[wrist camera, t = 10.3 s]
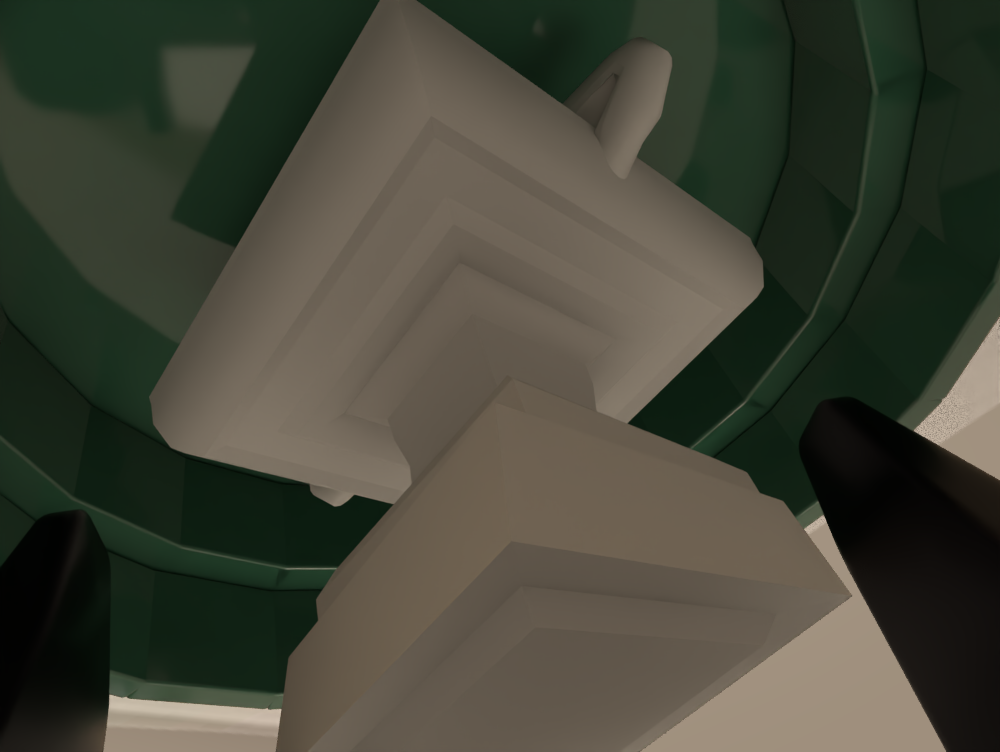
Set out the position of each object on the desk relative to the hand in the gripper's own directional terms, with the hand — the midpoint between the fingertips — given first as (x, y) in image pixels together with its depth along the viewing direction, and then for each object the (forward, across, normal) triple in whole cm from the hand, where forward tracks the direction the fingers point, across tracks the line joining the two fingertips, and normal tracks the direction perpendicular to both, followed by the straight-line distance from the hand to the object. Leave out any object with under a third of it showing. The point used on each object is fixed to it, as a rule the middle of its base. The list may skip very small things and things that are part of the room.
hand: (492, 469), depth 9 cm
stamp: (+6, 0, 0) cm, 6 cm away
